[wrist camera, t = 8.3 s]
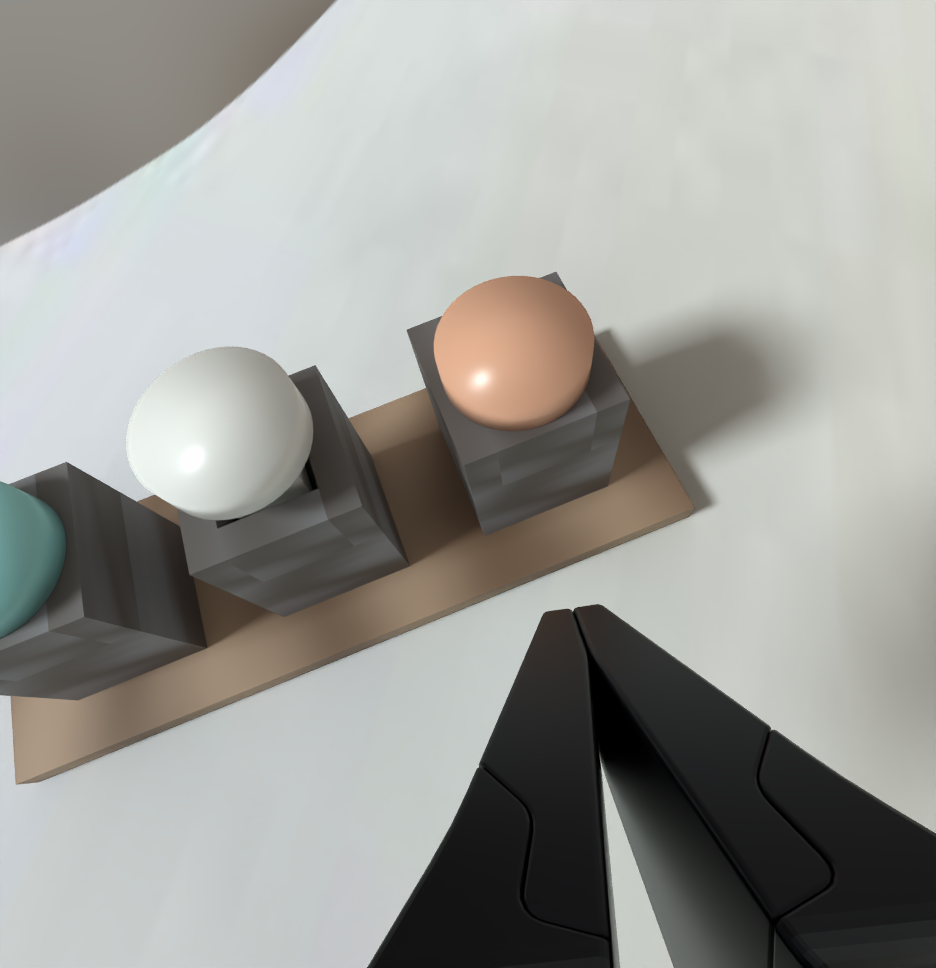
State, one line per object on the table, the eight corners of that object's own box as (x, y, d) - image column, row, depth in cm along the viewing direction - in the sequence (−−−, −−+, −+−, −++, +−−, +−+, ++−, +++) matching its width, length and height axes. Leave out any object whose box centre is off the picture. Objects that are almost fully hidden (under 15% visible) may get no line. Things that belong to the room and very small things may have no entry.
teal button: (111, 501, 20) (27, 455, 17) (129, 624, 19) (39, 600, 15) (-14, 550, 20) (-124, 514, 17) (-8, 679, 18) (-129, 667, 15)
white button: (319, 393, 19) (273, 323, 16) (358, 512, 18) (316, 461, 14) (189, 444, 19) (115, 383, 16) (216, 569, 17) (139, 531, 14)
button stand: (586, 338, 27) (601, 200, 20) (688, 516, 23) (750, 424, 16) (21, 560, 26) (-171, 497, 19) (37, 782, 22) (-192, 804, 15)
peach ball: (552, 330, 21) (553, 255, 18) (608, 434, 19) (622, 372, 16) (433, 377, 21) (412, 309, 17) (480, 486, 19) (466, 434, 16)
